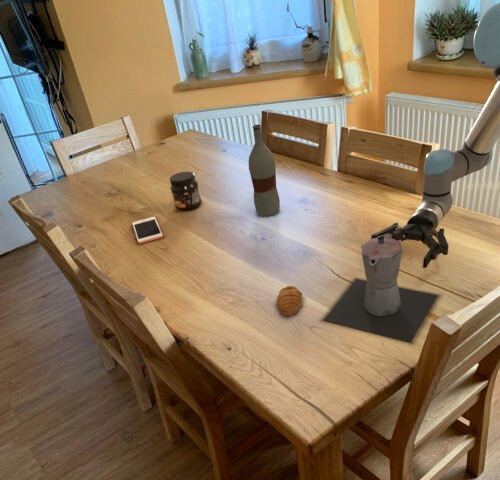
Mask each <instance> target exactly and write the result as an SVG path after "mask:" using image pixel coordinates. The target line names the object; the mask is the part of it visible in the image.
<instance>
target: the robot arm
mask: <svg viewBox="0 0 500 480" xmlns="http://www.w3.org/2000/svg"><path fill="white" fill-rule="evenodd" d="M473 51H474V55H475V57H476V60H477V62H478V63H480V65H484V67H485V68H488V69H492V72H493V76H494V79H495V81H497V82H496V84H495V86H494V88H493V90H492V91H491V93H490V94H489V97H488V99H487V101H486V103H485V104H484V106H483V108H482V110H481V111H480V113H479V115H478V116H477V118H476V120H475V122H474V124H473V125H472V127H471V129H470V131H469V133H468V134H467V136H466V138H465V140H464V142H463V143H462V145H461V146H460V148H459V149H457V150H454V151H453V150H449V149H445V148H444V149H442V148H441V149H437V150H436V149H434V150H431V151H429V152H428V153H427V154H426V156H425V158H424V166H423V180H422V181H423V182H422V195H421V196H422V197H421V203H420V205H419V206H418V207H417V209H416V210H415V211H414V213H412V215H411V216H410V217H409V219H408V221H407V222H406V224H405V225H399V223H398V222H394V223H392V225H390V226H388V227H385V228H383V229H381V230H379V231H376V232H374V233H372V234H371V235H370V240H371V239H373V238H378V237H379V236H385V234H388V232H389V230H390V229H392V231H393V233H394V239H395V240H397V241H400V242H405V241H415V242H421V243H422V245H424V246H425V245H426V247H427V248H428V251H427V252H426V254H425V255H424V257H423V260H422V261H423V264H422V269H427V268H428V266H429V265H430V263H431V261H435V260H437V258H438V256H440V254H442V256H447V255H448V254H449V243H448V241H447V239H446V236H445V228H442V227H441V228H439V230H437V228H438V227H439V225H440V224H441V222H442V221H443V219H444V218H445V216H446V215H447V214H448V213H449V212H450V210H451V208H452V206H453V203H454V197H453V195H452V192H451V191H452V183H453V182H455V181H458V180H459V179H462V178H463V177H464V178H465V177H466V176H468V175H471V174H473V173H475V172H476V173H477V172H478V171H481V170H482V169H483V168H485V167H487V166H488V165H489V164H490V163H491V161H492V159H493V154H494V152H493V148H494V147H495V144H496V143H497V141H498V140H499V138H500V2H497V3H496V4H494V5H492V6H491V7H489V9H487V10H486V11H485V13H484V14H483V15H482V16H481V17H480V19H479V21H478V23H477V28H476V29H475V31H474V36H473Z"/></svg>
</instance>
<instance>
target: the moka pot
mask: <svg viewBox="0 0 500 480" xmlns="http://www.w3.org/2000/svg"><path fill="white" fill-rule="evenodd" d="M401 242H402V241H400V240H399V241H397V240H395V239H394V233H393V231H392V229H390V230H389V232H388V234H385V236H379V237H378V238H373V239H371V238H370V239H369V240H367V241H366V242H364V243H362V245H361V246H360V247H361V256H362V263H363V269H364V274H365V279H366V281H367V284H366V292H365V300H364V307H365V309H366V311H367V312H369V313H370V314H373V315H376V316H387V315H391V314H393V313H395V312H397V311H398V310H399V308H400V305H401V300H400V295H399V289H398V287H399V284H398V277H399V273H400V268H401V261H402V256H403V255H402V254H403V248H402V243H401Z"/></svg>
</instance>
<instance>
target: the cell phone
mask: <svg viewBox="0 0 500 480" xmlns="http://www.w3.org/2000/svg"><path fill="white" fill-rule="evenodd" d="M132 227H133V230H134V233H135V237H136V239H137V242H138V244H139V245H140V244H144V243H148V242H151V241H154V240H159V239H162V238H163V237H164V235H163V232H162V229H161V227H160V225H159V222H158V221H157V218H156V216H151V217H147V218H143V219H139V220H136V221H133V222H132Z"/></svg>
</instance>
